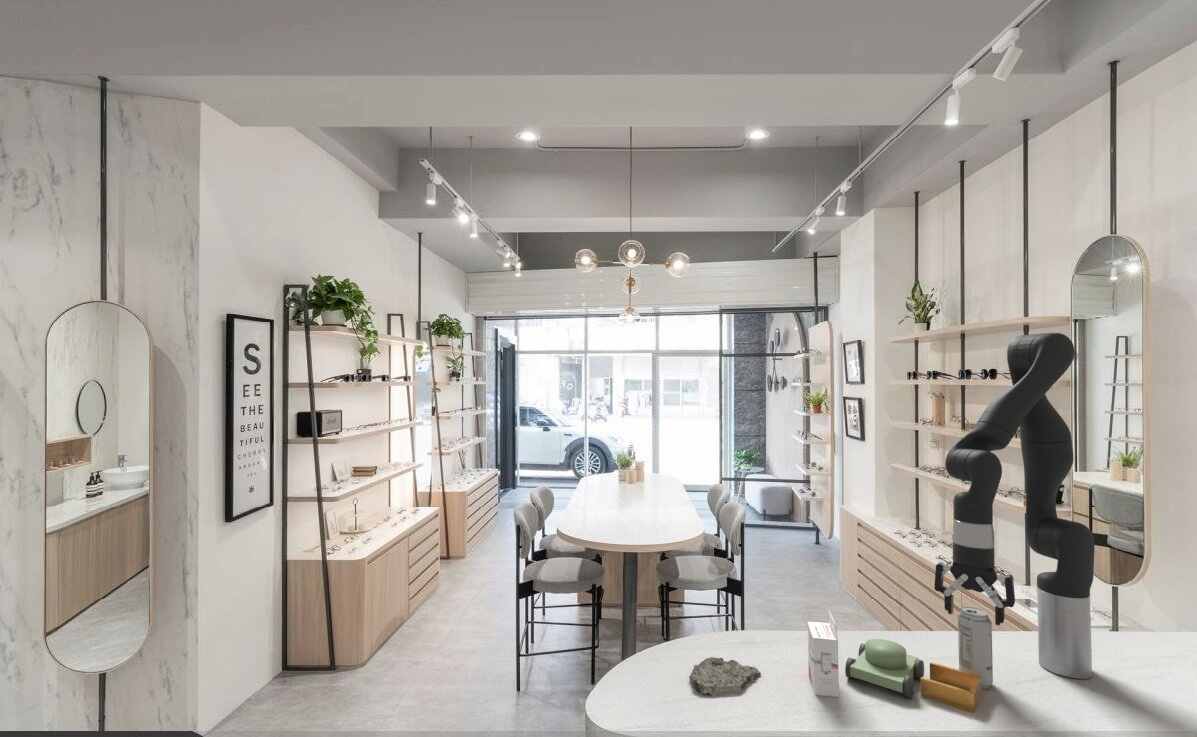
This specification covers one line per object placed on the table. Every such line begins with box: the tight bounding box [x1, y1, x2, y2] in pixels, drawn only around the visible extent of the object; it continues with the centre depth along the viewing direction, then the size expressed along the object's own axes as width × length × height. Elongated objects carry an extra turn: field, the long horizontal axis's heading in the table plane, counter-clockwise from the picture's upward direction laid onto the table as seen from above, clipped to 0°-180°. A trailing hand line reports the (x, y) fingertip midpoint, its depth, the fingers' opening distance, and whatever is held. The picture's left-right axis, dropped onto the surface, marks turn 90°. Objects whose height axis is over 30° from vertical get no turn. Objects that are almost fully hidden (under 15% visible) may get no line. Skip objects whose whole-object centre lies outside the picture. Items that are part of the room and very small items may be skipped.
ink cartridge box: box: [807, 609, 840, 698], centre depth 119 cm, size 9×5×15 cm, turn 168°
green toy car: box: [844, 638, 925, 699], centre depth 122 cm, size 14×12×6 cm
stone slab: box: [689, 656, 761, 697], centre depth 122 cm, size 12×17×3 cm
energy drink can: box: [957, 606, 994, 690], centre depth 121 cm, size 6×6×15 cm
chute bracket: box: [920, 661, 983, 714], centre depth 116 cm, size 9×9×4 cm
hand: (973, 618), depth 121 cm, fingers open, 8 cm apart
